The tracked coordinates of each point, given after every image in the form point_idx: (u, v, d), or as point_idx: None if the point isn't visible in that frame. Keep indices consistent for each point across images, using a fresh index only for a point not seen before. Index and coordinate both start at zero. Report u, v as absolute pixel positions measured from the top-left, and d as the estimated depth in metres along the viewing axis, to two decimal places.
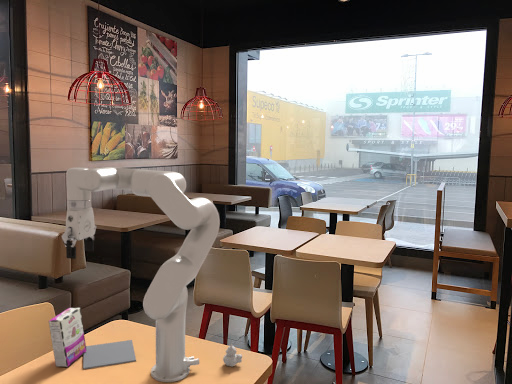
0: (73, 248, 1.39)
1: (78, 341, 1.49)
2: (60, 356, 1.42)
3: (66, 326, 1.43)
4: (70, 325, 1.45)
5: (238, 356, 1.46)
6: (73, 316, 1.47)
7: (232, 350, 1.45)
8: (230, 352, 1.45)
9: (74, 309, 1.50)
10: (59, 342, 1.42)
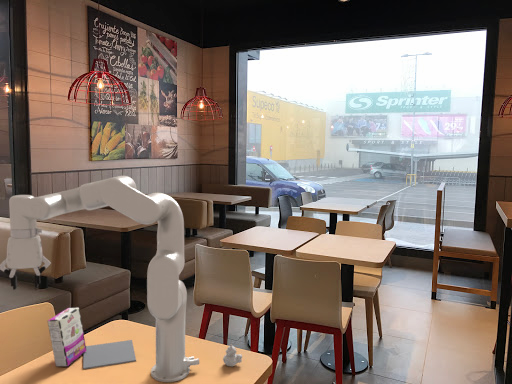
0: None
1: (77, 340, 1.49)
2: (59, 356, 1.42)
3: (65, 325, 1.43)
4: (69, 325, 1.45)
5: (238, 356, 1.46)
6: (72, 316, 1.47)
7: (232, 350, 1.45)
8: (230, 352, 1.45)
9: (73, 309, 1.50)
10: (59, 342, 1.42)
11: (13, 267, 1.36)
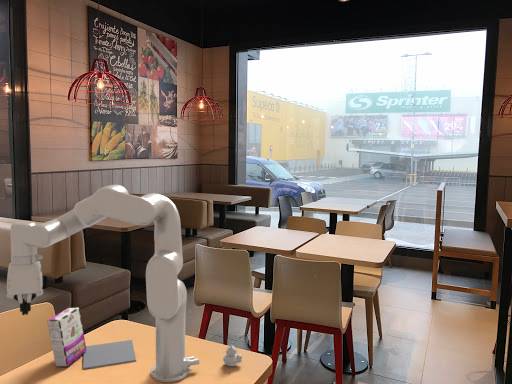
0: None
1: (77, 340, 1.49)
2: (59, 356, 1.42)
3: (65, 325, 1.43)
4: (69, 325, 1.45)
5: (238, 356, 1.46)
6: (72, 316, 1.47)
7: (232, 350, 1.45)
8: (230, 352, 1.45)
9: (73, 309, 1.50)
10: (59, 342, 1.42)
11: (13, 293, 1.37)
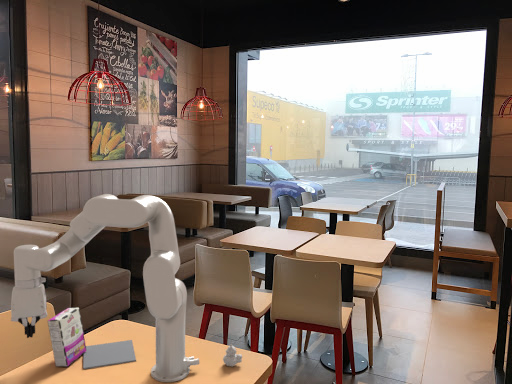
0: None
1: (77, 340, 1.49)
2: (59, 356, 1.42)
3: (65, 325, 1.43)
4: (69, 325, 1.45)
5: (238, 356, 1.46)
6: (72, 316, 1.47)
7: (232, 350, 1.45)
8: (230, 352, 1.45)
9: (73, 309, 1.50)
10: (59, 342, 1.42)
11: (17, 317, 1.39)
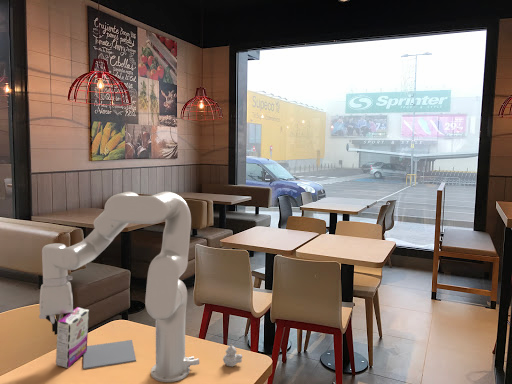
0: None
1: (81, 342, 1.48)
2: (62, 357, 1.42)
3: (74, 329, 1.42)
4: (77, 328, 1.44)
5: (238, 356, 1.46)
6: (81, 319, 1.46)
7: (232, 350, 1.45)
8: (230, 352, 1.45)
9: (83, 311, 1.48)
10: (65, 344, 1.41)
11: (46, 314, 1.42)
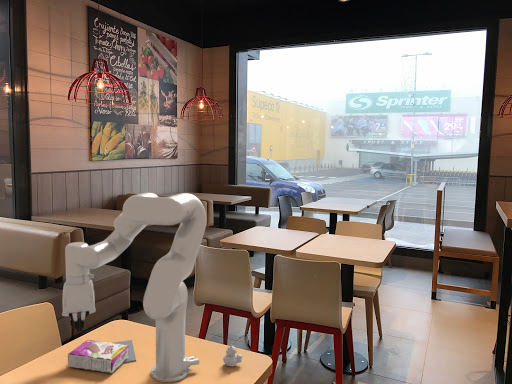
0: None
1: None
2: (77, 362, 1.41)
3: None
4: None
5: (238, 356, 1.46)
6: None
7: (232, 350, 1.45)
8: (230, 352, 1.45)
9: (126, 356, 1.48)
10: (91, 366, 1.40)
11: (69, 311, 1.44)
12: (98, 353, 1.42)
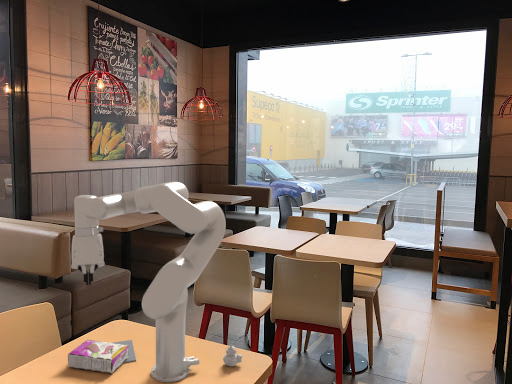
0: None
1: None
2: (77, 362, 1.41)
3: None
4: None
5: (238, 356, 1.46)
6: None
7: (232, 350, 1.45)
8: (230, 352, 1.45)
9: (126, 356, 1.48)
10: (91, 366, 1.40)
11: (78, 264, 1.43)
12: (98, 353, 1.42)
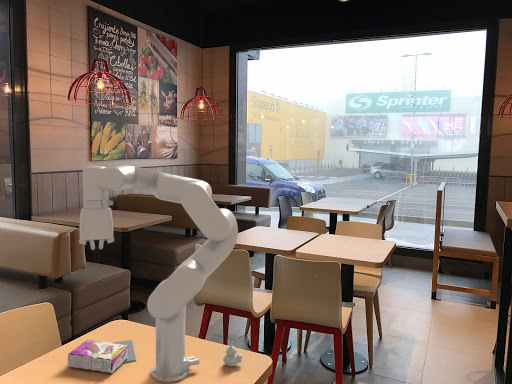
0: None
1: None
2: (77, 362, 1.41)
3: None
4: None
5: (238, 356, 1.46)
6: None
7: (232, 350, 1.45)
8: (230, 352, 1.45)
9: (126, 356, 1.48)
10: (91, 366, 1.40)
11: (86, 238, 1.35)
12: (98, 353, 1.42)
